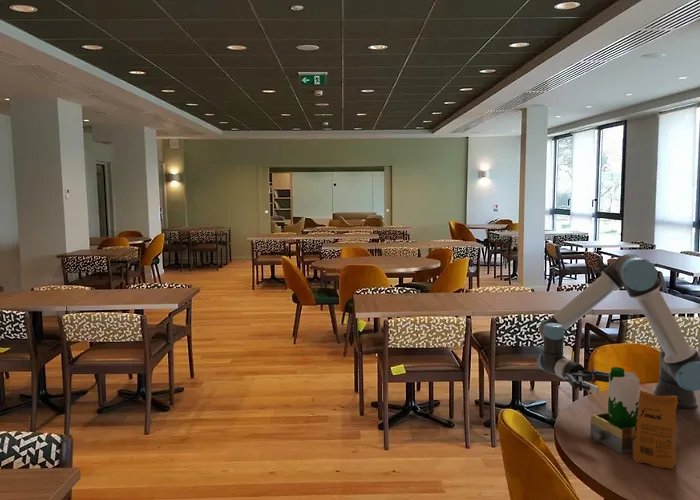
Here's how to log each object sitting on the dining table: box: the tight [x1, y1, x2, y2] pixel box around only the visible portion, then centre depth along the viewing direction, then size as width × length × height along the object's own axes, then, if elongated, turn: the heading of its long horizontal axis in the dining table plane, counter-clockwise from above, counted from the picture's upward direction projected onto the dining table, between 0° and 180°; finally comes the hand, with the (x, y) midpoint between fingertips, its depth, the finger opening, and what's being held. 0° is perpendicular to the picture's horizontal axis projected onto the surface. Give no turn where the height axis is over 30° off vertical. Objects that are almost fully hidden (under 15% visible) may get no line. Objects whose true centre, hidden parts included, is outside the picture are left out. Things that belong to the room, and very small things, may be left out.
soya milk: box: [607, 366, 640, 428], centre depth 200 cm, size 9×9×20 cm
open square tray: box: [590, 411, 636, 455], centre depth 201 cm, size 17×14×8 cm
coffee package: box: [632, 389, 678, 469], centre depth 187 cm, size 10×12×22 cm
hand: (613, 388), depth 204 cm, fingers open, 13 cm apart
